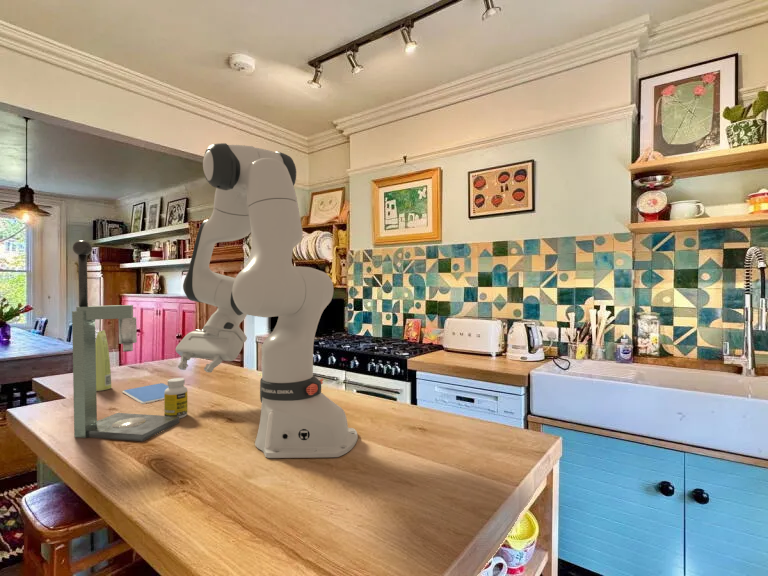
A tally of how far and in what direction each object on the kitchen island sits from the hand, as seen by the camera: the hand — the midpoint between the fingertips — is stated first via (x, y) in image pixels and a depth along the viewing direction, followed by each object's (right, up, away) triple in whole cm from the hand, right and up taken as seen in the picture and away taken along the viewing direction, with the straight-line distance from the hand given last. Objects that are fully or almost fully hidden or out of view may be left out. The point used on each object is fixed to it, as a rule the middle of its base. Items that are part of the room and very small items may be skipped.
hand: (194, 369), depth 111 cm
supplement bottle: (-2, -11, -6) cm, 13 cm away
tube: (-41, -11, +22) cm, 48 cm away
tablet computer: (-21, -12, +16) cm, 29 cm away
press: (-9, -11, -15) cm, 20 cm away
